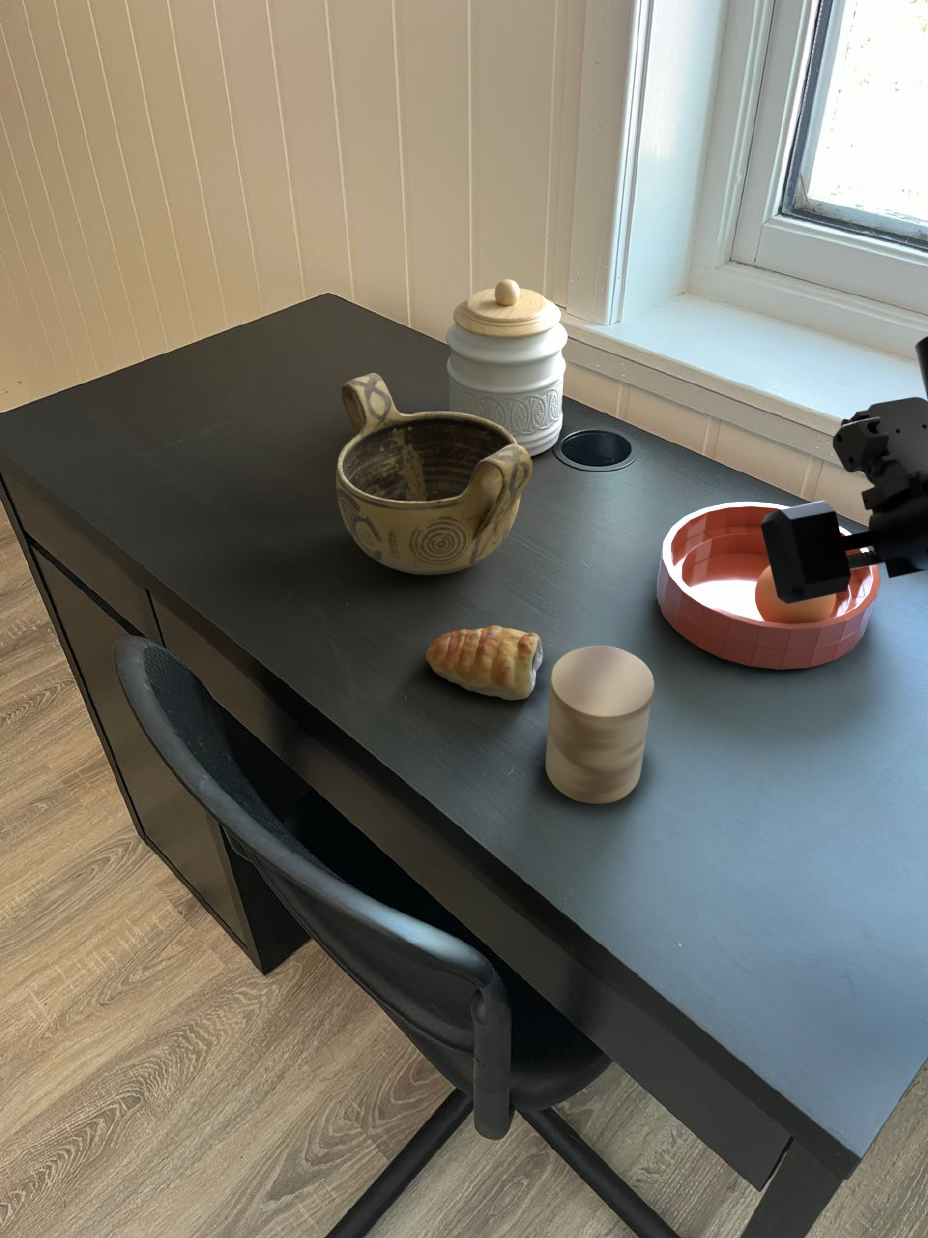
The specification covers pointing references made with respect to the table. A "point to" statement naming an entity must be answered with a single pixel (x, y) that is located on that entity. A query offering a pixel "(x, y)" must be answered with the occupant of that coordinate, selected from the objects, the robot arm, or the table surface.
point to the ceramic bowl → (426, 482)
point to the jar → (509, 363)
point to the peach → (793, 612)
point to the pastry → (488, 660)
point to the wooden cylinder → (597, 723)
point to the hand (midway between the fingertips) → (829, 555)
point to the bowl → (749, 593)
